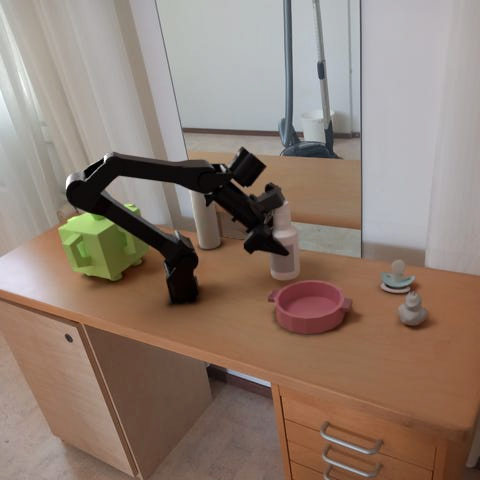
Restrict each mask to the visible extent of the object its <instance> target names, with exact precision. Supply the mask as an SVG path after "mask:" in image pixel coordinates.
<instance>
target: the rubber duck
mask: <svg viewBox="0 0 480 480" xmlns="http://www.w3.org/2000/svg"><path fill="white" fill-rule="evenodd" d="M422 300H423V299H422V296H421V295H420V294H419V293H418V292H417V293H416V292H415V290H413V291H412V292H411V291H408V293H407V294H406V295H405V298H404V303H401V304H400V305H399V307H398V309H397V315H398V318H399V319H400V321H401V323H403V324H404V325H407V326H414V327H415V326H419V325H420V324H421V323H423V322H424V321H425V320H426V318H427V316H428V309H427V308H426V307H424V306H423V305H422V303H423V302H422Z"/></svg>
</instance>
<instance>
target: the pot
mask: <svg viewBox="0 0 480 480" xmlns="http://www.w3.org/2000/svg"><path fill="white" fill-rule="evenodd" d="M353 300H354V299H353V298H349V297H346V296H345V293H344V291H343V289H341V288H340V287H339V286H337V285H336V284H334V283H331V282H328V281H325V280H317V279H307V280H298V281H295V282H292V283H290V284H287V285H286V286H284V287H282V288H281V289H272V291H271V293H270V294H269V296H267V302H268V303H274V307H275V317H276V322H277V323H278V324H279V325H280V326H281V327H282V328H283V329H285V330H287V331H289V332H291V333H296V334H303V335H315V334H322V333H325V332H328V331H330V330H332V329H335V328H336V327H337V326H339V325H340V324H341V323H342V322H343V320H344V318H345V316H346V313H349V312H350V310H351V307H352V305H353V304H354V303H353V302H354V301H353Z"/></svg>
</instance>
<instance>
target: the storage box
mask: <svg viewBox="0 0 480 480" xmlns="http://www.w3.org/2000/svg"><path fill="white" fill-rule="evenodd" d="M123 205H124V206H126V207H127V208H129V209H130V210H132V211H133V212H135V213H136V214H138V215H139V216H141V217H142V214H141V210H140V209H141V208H139V207H136V204H132V203H125V204H123ZM66 222H67V223H65V224H63V225H61V226H60V227H58V228H57V231H58V234H59V237H60V239H61V242H62V243H61V246H62V248H63V250H64V252H65V255H66V258H67V260H68V262H69V266H70V267H71V270H72V272H75V273H79V274H84V275H87V276H89V277H93V276H94V277H97V278H103V279H108V280H109V281H111V282H114V281H119V280H120V279H122V278H123V274H122V272H124V271H125V270H126V269H127V268H129V267H130V266H133V267H134V266H138V265H140V264H141V263H142V262H143V260H142V259H141V258H142V257H143V256H145V255H147V254H148V253H149V252H151V248H150V246H149V245H148V244H146V243H145V242H143V241H142V240H140V239H138V238H137V237H135V236H134V235H132V234H130V233H129V232H127V231H126V230H124V229H123V228H121V227H119V226H118V225H116V224H115V223H113V222H111V221H110V220H108V219H107V218H105V217H103V216H99V215H95V214H90V213H88V212H84V213H82V214H80V215H77V216H73V217H70V218H68V219H67V220H66Z"/></svg>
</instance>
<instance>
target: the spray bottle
mask: <svg viewBox="0 0 480 480" xmlns="http://www.w3.org/2000/svg"><path fill="white" fill-rule="evenodd" d="M291 217H292V215H291V209H290V202H289V201H288V200H287V199H285V200H284V204H283V205H282V206H281V207H280V208H278V209H277V208H276V209H274V210H273V227H272V228H274V236H275V237H276V238H277V239H278V240H279V242H280V243H281V244H282V245H283V246H284V247H285V248H286V249H287V250H288V251H289V255H288V256H282V255H278V254H274V253H269V252H268V253H269V264H270V266H269V267H270V274H271V276H272V278H273V279H275V280H278V281H291V280H295V279H296V278H297V277H299V275H300V273H301V263H300V248H299V247H300V244H299V243H300V242H299V230H298V228H297V227H296V226H295V225H293V224H292V218H291ZM272 228H270V230H271V229H272Z"/></svg>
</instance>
